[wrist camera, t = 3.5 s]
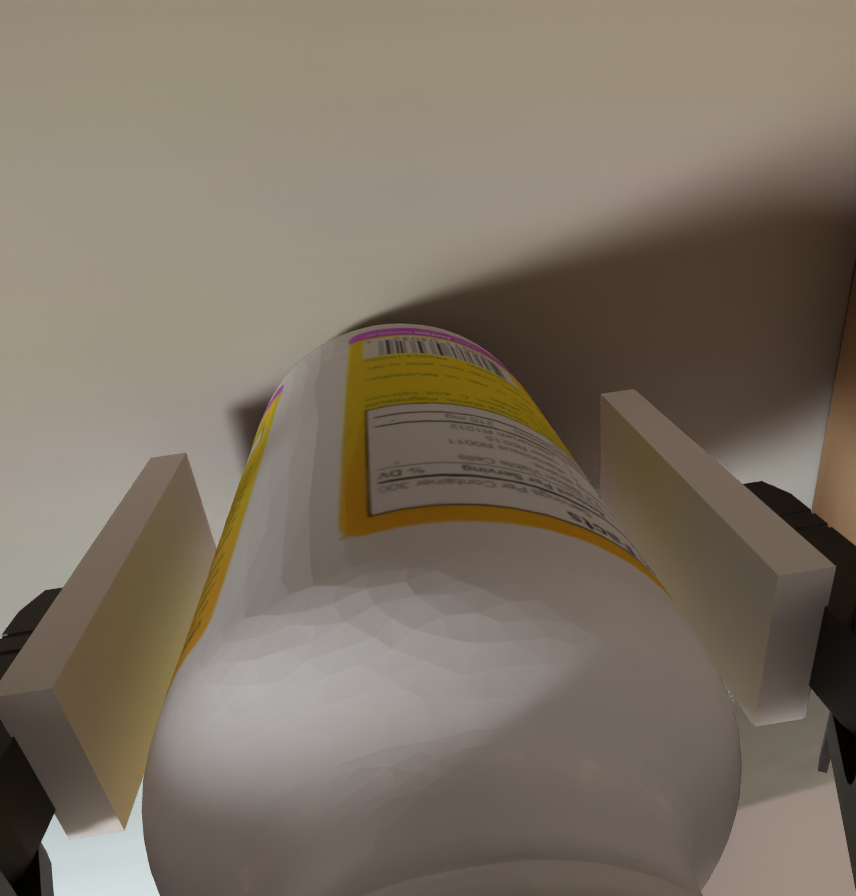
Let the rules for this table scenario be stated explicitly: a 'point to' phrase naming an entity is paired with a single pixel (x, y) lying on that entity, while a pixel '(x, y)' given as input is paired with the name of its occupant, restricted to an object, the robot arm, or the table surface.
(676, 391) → the table surface
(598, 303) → the table surface
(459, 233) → the table surface
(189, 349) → the table surface
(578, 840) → the supplement bottle
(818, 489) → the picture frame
